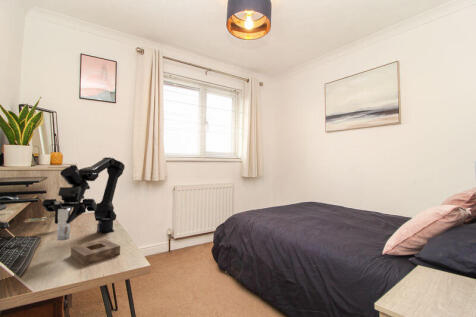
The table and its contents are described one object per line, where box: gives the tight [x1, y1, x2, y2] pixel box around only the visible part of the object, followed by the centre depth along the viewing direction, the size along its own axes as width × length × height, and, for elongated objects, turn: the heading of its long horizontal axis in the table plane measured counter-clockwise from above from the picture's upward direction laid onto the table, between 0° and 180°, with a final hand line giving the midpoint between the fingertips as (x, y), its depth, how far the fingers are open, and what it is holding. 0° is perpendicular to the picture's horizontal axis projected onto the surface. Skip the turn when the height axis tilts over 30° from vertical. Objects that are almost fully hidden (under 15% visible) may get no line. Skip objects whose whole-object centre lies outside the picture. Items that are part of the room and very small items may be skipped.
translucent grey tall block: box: [56, 208, 72, 241], centre depth 91 cm, size 4×4×12 cm
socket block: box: [70, 239, 121, 266], centre depth 92 cm, size 13×13×4 cm
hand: (61, 223), depth 90 cm, fingers closed on translucent grey tall block, 4 cm apart
